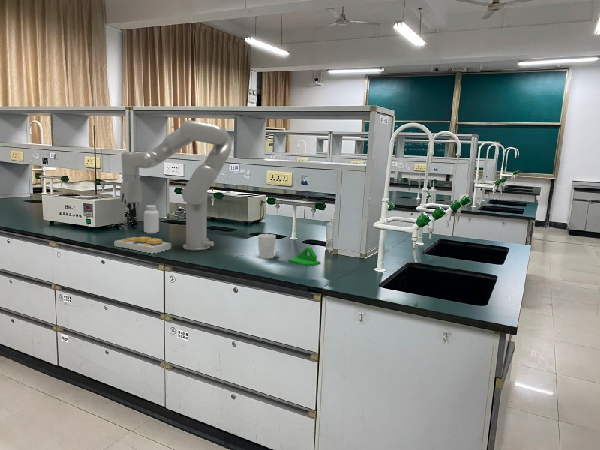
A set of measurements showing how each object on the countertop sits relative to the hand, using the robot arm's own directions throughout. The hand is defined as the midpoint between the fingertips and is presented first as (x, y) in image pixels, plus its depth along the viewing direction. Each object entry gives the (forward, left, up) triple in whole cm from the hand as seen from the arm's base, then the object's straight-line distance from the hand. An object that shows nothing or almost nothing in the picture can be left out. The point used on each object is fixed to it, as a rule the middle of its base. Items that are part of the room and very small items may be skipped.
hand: (132, 217), depth 214 cm
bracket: (-85, -1, -15) cm, 86 cm away
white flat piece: (-6, +2, -14) cm, 16 cm away
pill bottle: (+11, -34, -15) cm, 38 cm away
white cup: (-66, -5, -15) cm, 68 cm away
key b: (-6, +2, -12) cm, 14 cm away
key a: (-13, +3, -12) cm, 18 cm away
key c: (0, 0, -13) cm, 13 cm away
